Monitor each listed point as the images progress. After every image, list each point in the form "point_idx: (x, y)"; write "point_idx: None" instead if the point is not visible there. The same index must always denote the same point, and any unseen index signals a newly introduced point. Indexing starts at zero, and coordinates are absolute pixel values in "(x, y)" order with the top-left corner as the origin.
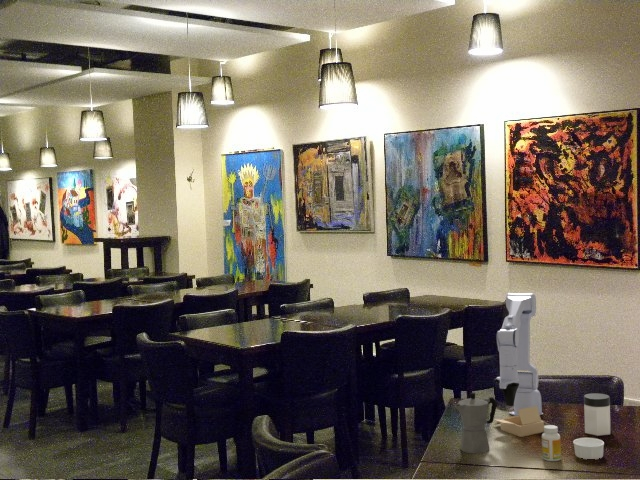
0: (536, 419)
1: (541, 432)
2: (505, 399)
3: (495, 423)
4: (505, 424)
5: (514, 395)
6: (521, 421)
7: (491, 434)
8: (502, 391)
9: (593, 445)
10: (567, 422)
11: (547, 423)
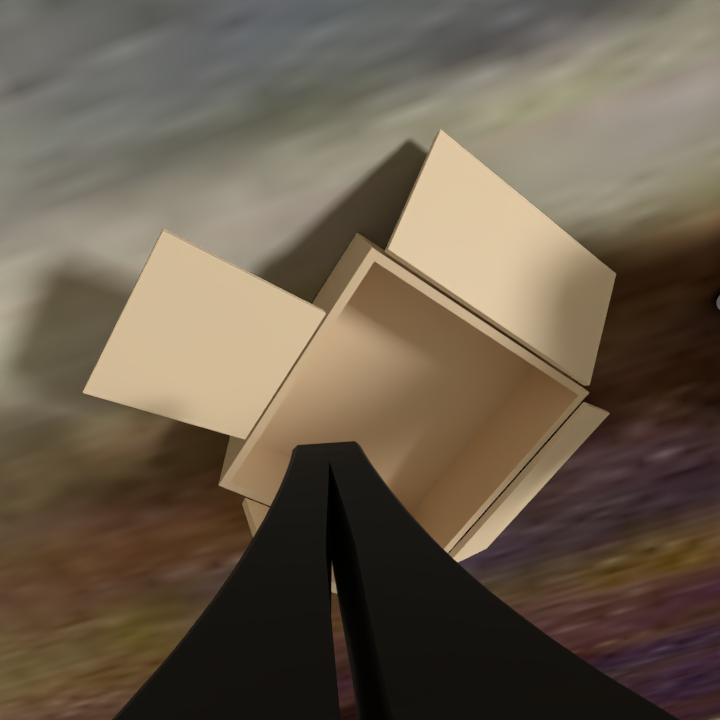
0: None
1: None
2: (271, 515)
3: (425, 159)
4: (324, 307)
5: (356, 698)
6: (247, 511)
7: (183, 195)
8: (152, 689)
9: None
10: (643, 549)
11: (463, 559)
